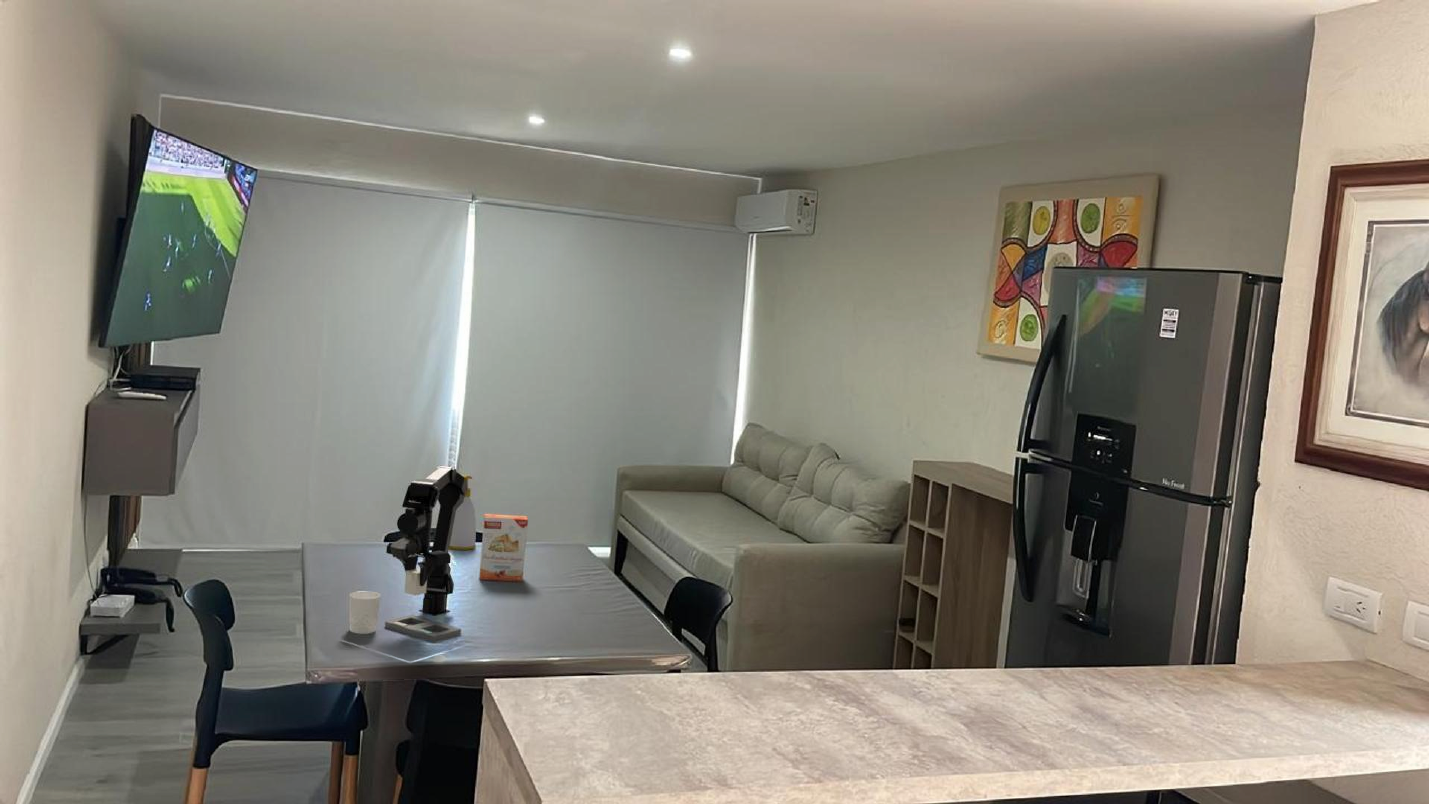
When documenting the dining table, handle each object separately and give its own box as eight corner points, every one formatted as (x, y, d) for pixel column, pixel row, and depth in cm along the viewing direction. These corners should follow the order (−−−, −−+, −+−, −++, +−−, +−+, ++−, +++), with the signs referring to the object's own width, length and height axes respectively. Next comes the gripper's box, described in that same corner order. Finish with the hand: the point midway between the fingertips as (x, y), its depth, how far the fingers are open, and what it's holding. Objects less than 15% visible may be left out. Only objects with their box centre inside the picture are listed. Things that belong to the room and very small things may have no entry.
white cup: (368, 637, 297) (371, 600, 297) (341, 633, 299) (344, 596, 298) (383, 630, 305) (386, 593, 304) (356, 625, 307) (359, 589, 306)
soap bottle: (438, 548, 404) (444, 475, 402) (451, 542, 416) (456, 471, 413) (468, 552, 402) (474, 479, 400) (480, 546, 414) (486, 475, 412)
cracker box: (479, 580, 366) (484, 516, 364) (479, 575, 371) (484, 513, 370) (523, 582, 368) (528, 519, 367) (522, 577, 374) (527, 515, 373)
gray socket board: (411, 621, 315) (412, 613, 315) (460, 636, 306) (461, 628, 306) (384, 628, 306) (385, 620, 306) (434, 644, 297) (434, 635, 297)
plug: (415, 590, 310) (416, 568, 309) (426, 593, 308) (427, 571, 307) (402, 592, 305) (403, 571, 305) (412, 596, 303) (414, 574, 303)
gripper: (372, 524, 303) (368, 582, 304) (423, 537, 294) (419, 596, 295) (403, 520, 313) (399, 575, 314) (454, 532, 303) (449, 589, 305)
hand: (416, 584), depth 307 cm, fingers closed on plug, 4 cm apart
